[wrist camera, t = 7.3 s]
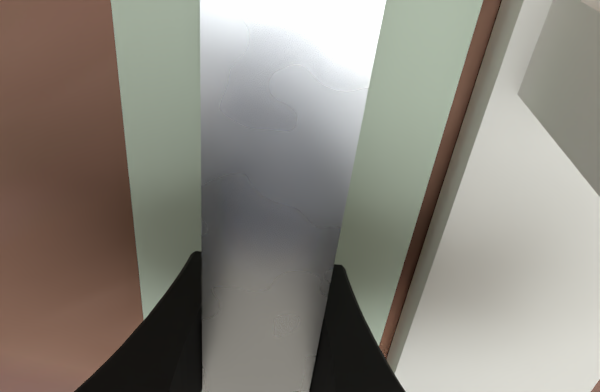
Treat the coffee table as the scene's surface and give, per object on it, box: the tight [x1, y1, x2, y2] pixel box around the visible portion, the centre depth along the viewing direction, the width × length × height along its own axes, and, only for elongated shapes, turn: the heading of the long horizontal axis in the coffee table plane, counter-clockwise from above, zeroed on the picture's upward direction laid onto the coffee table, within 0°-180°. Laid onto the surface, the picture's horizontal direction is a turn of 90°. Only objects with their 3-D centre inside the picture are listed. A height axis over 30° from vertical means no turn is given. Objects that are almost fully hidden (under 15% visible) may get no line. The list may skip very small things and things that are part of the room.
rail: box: [200, 0, 386, 392], centre depth 12 cm, size 2×18×2 cm, turn 174°
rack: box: [386, 0, 600, 392], centre depth 11 cm, size 6×19×7 cm, turn 174°
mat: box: [111, 0, 483, 346], centre depth 14 cm, size 7×17×1 cm, turn 174°
